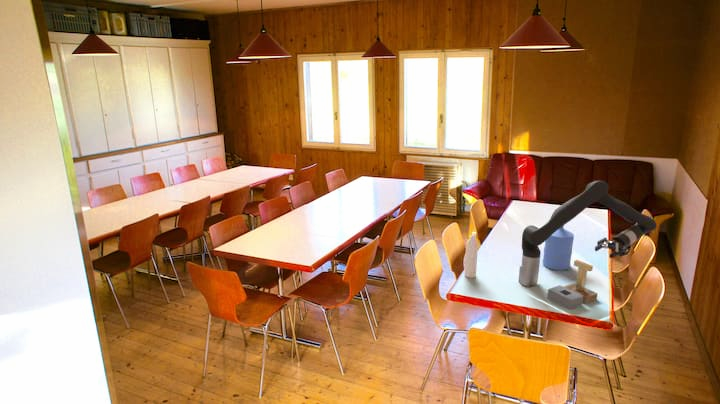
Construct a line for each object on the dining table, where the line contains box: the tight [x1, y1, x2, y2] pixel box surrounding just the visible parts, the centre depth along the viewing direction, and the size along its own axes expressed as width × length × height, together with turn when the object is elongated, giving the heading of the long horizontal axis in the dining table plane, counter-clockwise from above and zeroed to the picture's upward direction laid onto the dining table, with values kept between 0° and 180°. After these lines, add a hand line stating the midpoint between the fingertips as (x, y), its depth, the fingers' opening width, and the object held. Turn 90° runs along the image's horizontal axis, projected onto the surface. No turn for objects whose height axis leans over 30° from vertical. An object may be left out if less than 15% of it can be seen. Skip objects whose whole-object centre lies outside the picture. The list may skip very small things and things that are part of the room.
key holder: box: [547, 284, 584, 310], centre depth 244 cm, size 14×9×6 cm, turn 30°
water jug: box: [542, 225, 575, 271], centre depth 286 cm, size 16×16×28 cm
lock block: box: [563, 282, 598, 304], centre depth 250 cm, size 14×9×4 cm, turn 30°
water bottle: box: [464, 231, 479, 279], centre depth 275 cm, size 9×6×25 cm
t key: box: [573, 259, 594, 292], centre depth 247 cm, size 9×3×18 cm, turn 30°
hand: (602, 253), depth 244 cm, fingers open, 8 cm apart
